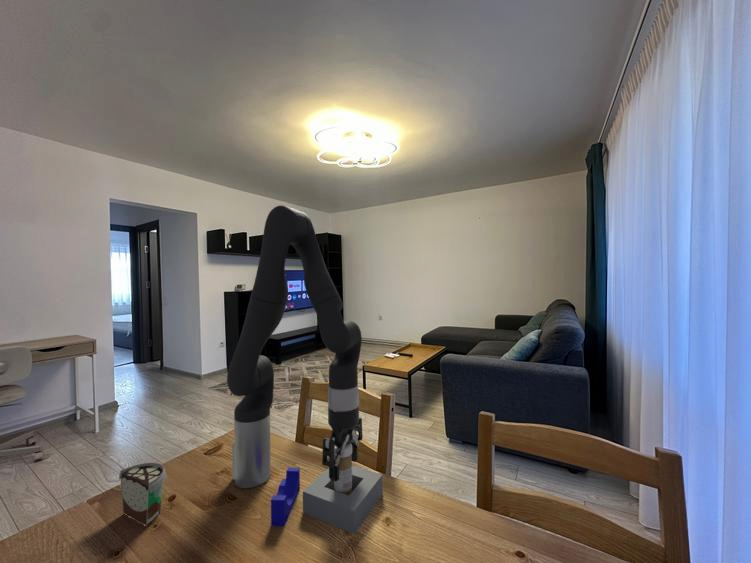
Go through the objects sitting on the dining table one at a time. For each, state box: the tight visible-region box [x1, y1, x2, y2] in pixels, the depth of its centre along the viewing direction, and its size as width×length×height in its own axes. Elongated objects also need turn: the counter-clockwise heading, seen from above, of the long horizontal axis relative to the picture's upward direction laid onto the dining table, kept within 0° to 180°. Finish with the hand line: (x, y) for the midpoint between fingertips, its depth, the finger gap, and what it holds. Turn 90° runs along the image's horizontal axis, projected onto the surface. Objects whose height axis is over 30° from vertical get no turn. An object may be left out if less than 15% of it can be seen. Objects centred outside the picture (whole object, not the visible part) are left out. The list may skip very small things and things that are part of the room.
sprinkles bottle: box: [334, 443, 353, 496], centre depth 76 cm, size 5×5×14 cm
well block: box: [302, 464, 384, 535], centre depth 76 cm, size 14×14×5 cm
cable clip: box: [270, 467, 301, 527], centre depth 75 cm, size 12×4×6 cm, turn 178°
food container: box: [118, 462, 167, 527], centre depth 74 cm, size 12×6×10 cm, turn 65°
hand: (344, 469), depth 76 cm, fingers open, 8 cm apart
